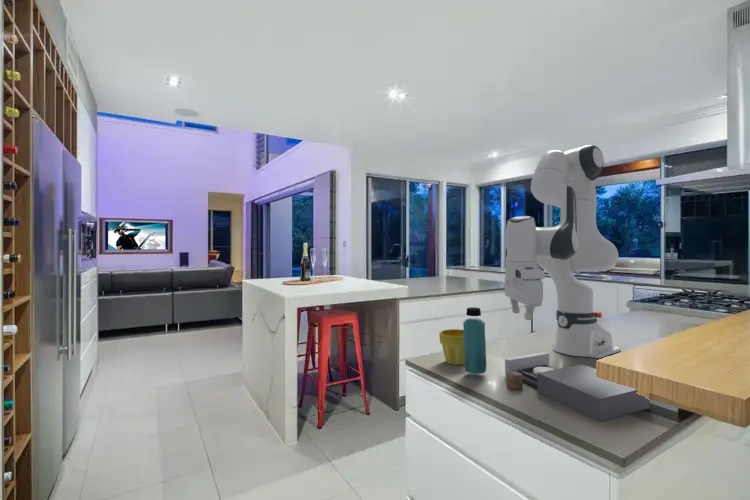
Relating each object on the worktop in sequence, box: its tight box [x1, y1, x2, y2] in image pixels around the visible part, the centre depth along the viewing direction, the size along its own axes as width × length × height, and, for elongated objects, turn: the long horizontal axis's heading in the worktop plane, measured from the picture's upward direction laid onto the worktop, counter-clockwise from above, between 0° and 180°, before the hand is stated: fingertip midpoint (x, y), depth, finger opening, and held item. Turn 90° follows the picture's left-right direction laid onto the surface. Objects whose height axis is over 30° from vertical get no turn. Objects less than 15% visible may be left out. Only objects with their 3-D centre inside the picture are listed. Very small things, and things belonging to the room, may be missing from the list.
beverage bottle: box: [462, 306, 488, 375], centre depth 113 cm, size 6×7×20 cm
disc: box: [533, 367, 555, 377], centre depth 108 cm, size 6×6×2 cm
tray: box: [504, 351, 557, 388], centre depth 106 cm, size 18×15×5 cm
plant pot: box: [439, 328, 464, 366], centre depth 126 cm, size 10×10×10 cm
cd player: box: [536, 363, 651, 422], centre depth 95 cm, size 18×16×5 cm
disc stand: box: [506, 372, 524, 391], centre depth 104 cm, size 4×4×4 cm
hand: (521, 316), depth 116 cm, fingers open, 8 cm apart
